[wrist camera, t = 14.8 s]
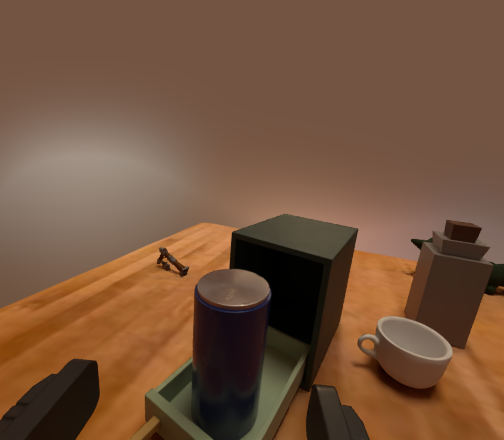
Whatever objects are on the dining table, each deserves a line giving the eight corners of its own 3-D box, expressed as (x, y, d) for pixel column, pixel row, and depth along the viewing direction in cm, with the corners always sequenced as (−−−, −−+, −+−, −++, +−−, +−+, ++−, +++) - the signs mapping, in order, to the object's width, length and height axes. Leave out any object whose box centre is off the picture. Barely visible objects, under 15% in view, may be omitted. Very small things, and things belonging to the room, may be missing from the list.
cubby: (308, 392, 27) (332, 259, 23) (224, 343, 33) (231, 231, 29) (339, 321, 40) (358, 228, 36) (274, 295, 46) (284, 213, 42)
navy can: (269, 398, 24) (284, 282, 21) (231, 461, 19) (244, 319, 16) (220, 367, 28) (226, 262, 25) (176, 413, 22) (177, 287, 19)
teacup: (419, 353, 34) (428, 320, 33) (455, 406, 27) (470, 366, 26) (346, 341, 35) (353, 309, 34) (362, 389, 28) (371, 350, 27)
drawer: (167, 660, 12) (167, 625, 11) (66, 496, 17) (61, 464, 16) (310, 367, 29) (313, 346, 29) (239, 331, 34) (241, 311, 34)
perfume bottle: (411, 333, 39) (442, 224, 34) (404, 310, 45) (430, 215, 40) (464, 348, 36) (505, 233, 32) (448, 322, 42) (481, 223, 38)
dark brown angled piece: (158, 259, 55) (164, 243, 53) (182, 281, 53) (189, 266, 51) (151, 261, 53) (157, 246, 52) (176, 284, 51) (183, 269, 49)
